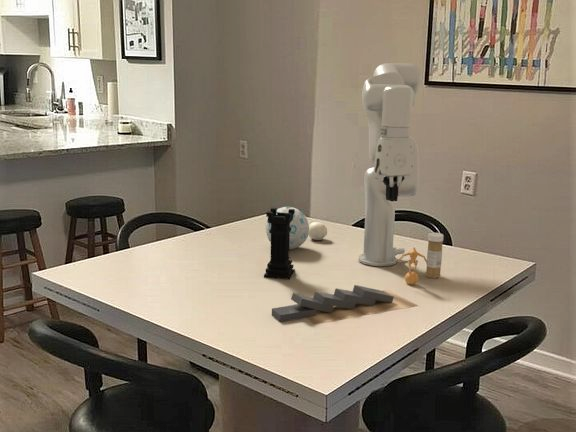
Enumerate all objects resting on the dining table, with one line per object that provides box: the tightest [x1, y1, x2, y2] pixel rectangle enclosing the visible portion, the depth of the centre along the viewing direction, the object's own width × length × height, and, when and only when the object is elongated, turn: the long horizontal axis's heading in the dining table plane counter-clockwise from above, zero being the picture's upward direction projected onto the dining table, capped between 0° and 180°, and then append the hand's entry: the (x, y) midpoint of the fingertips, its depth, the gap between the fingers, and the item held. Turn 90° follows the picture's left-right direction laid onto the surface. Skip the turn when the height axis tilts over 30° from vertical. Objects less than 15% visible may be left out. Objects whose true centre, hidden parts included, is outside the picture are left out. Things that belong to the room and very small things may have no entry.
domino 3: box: [312, 290, 356, 309], centre depth 170 cm, size 2×5×10 cm
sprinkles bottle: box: [425, 232, 444, 279], centre depth 199 cm, size 5×5×13 cm
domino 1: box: [271, 303, 316, 323], centre depth 165 cm, size 2×5×10 cm
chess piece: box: [263, 207, 296, 281], centre depth 197 cm, size 8×8×20 cm
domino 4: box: [333, 288, 376, 306], centre depth 173 cm, size 2×5×10 cm
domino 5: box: [352, 284, 394, 303], centre depth 175 cm, size 2×5×10 cm
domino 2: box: [290, 292, 334, 313], centre depth 167 cm, size 2×5×10 cm
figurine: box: [398, 246, 427, 286], centre depth 190 cm, size 8×6×12 cm
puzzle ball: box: [265, 206, 310, 251], centre depth 226 cm, size 15×15×15 cm
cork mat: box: [287, 289, 419, 325], centre depth 173 cm, size 32×14×1 cm, turn 116°
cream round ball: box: [308, 221, 328, 241], centre depth 240 cm, size 7×7×7 cm
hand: (391, 200), depth 178 cm, fingers closed
